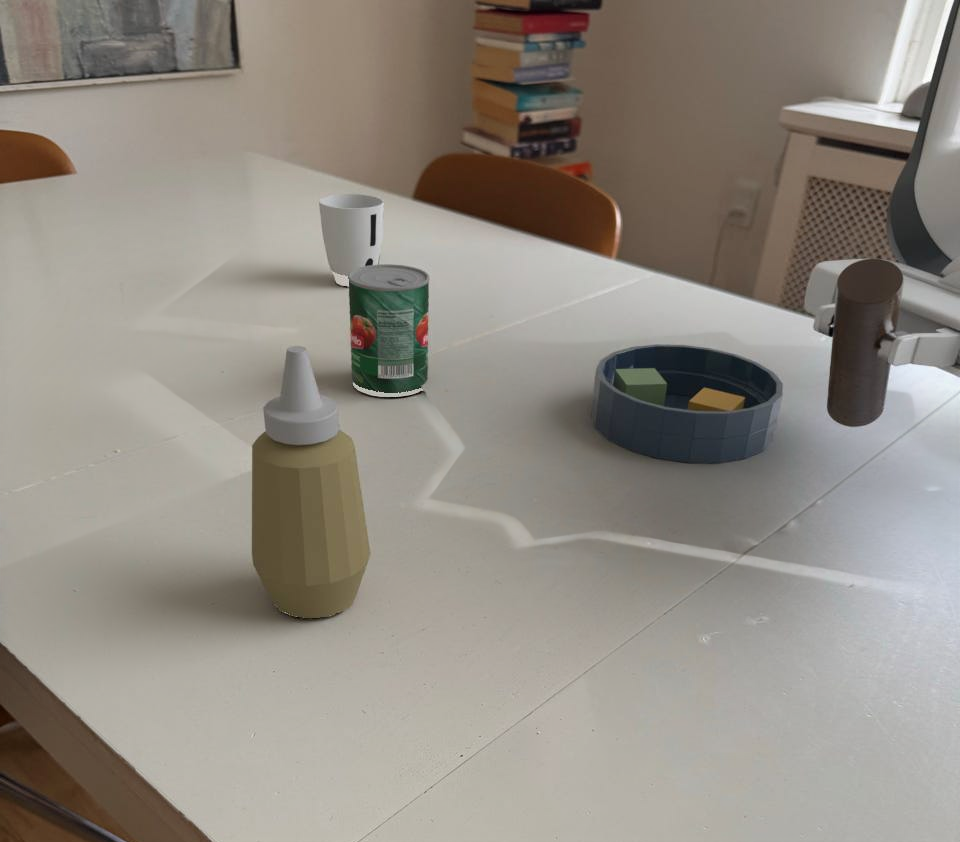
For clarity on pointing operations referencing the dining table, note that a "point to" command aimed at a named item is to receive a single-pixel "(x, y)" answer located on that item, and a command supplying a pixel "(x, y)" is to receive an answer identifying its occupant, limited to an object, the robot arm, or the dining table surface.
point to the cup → (351, 230)
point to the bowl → (673, 424)
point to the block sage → (641, 384)
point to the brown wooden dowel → (862, 340)
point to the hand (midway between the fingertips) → (853, 336)
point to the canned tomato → (389, 327)
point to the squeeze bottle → (307, 500)
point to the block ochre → (715, 401)
